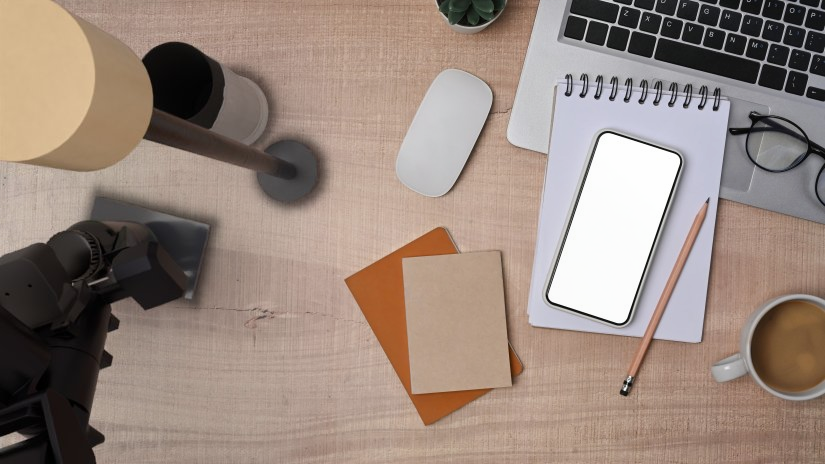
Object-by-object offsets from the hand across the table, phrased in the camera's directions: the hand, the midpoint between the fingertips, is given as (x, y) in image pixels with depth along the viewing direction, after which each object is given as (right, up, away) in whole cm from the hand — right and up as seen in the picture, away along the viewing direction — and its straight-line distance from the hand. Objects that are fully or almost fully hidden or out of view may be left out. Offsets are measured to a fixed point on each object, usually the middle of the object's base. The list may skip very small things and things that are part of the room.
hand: (95, 240), depth 62 cm
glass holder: (+8, +15, +9) cm, 20 cm away
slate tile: (+1, -1, +10) cm, 10 cm away
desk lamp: (+18, +8, +9) cm, 21 cm away
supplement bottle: (+1, -1, +7) cm, 7 cm away
